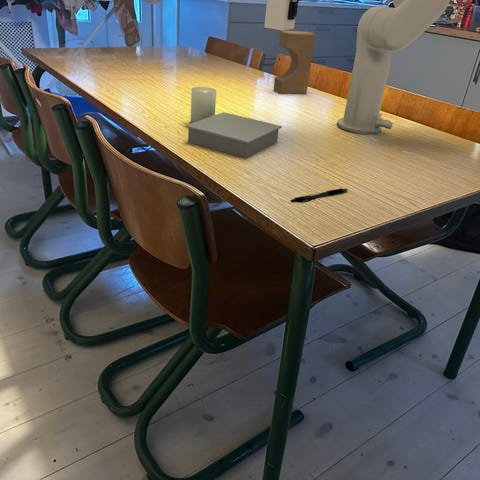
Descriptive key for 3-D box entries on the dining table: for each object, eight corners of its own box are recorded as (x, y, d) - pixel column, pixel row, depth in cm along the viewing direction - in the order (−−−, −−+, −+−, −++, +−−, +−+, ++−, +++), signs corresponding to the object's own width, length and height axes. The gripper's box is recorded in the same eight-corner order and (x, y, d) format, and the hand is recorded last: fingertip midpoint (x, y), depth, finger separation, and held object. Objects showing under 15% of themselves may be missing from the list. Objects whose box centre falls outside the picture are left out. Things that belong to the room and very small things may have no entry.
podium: (279, 141, 121) (281, 126, 119) (246, 159, 108) (248, 141, 106) (222, 127, 128) (223, 112, 126) (185, 141, 115) (185, 125, 113)
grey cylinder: (218, 124, 130) (220, 90, 126) (205, 129, 125) (207, 94, 121) (199, 119, 133) (200, 85, 128) (185, 123, 128) (186, 89, 123)
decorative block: (279, 94, 168) (286, 32, 158) (272, 90, 173) (279, 30, 163) (307, 94, 172) (316, 34, 162) (300, 90, 176) (308, 31, 167)
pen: (293, 207, 90) (295, 202, 89) (288, 201, 90) (290, 196, 90) (349, 195, 96) (351, 191, 95) (344, 190, 97) (346, 185, 96)
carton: (293, 28, 122) (299, -16, 117) (282, 30, 116) (288, -17, 111) (276, 26, 124) (280, -18, 119) (264, 27, 118) (268, -19, 113)
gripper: (331, -65, 110) (317, 22, 119) (264, -69, 116) (256, 13, 125) (319, -69, 104) (306, 23, 113) (250, -73, 110) (243, 14, 119)
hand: (280, 17), depth 119 cm, fingers closed on carton, 5 cm apart
